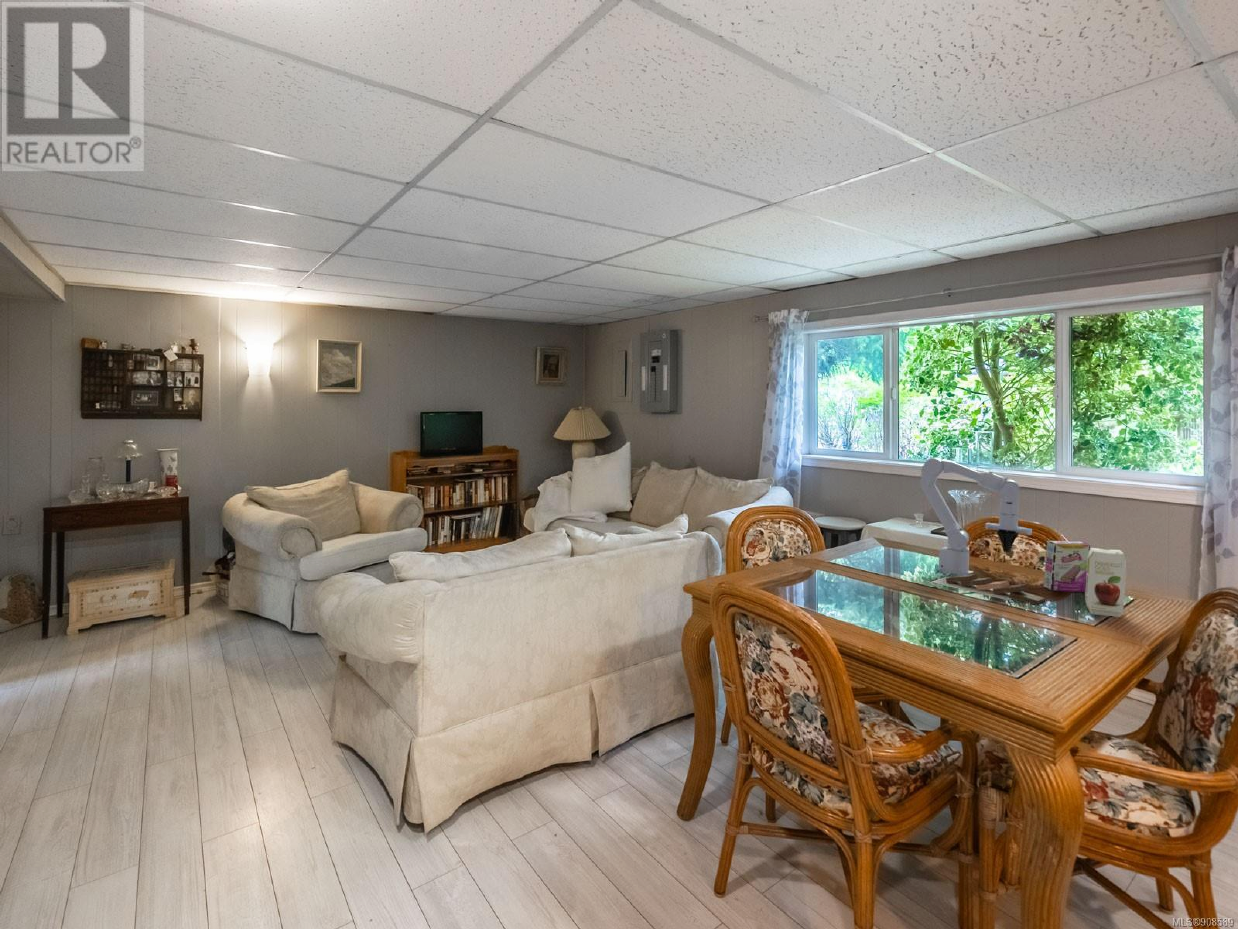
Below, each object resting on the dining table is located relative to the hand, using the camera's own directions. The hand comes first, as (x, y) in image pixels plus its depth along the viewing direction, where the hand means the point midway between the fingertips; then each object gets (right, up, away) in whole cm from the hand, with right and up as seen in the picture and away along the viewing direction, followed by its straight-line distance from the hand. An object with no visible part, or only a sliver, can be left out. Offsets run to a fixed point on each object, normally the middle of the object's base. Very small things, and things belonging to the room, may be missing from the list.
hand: (1007, 551), depth 215 cm
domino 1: (-23, -9, -4) cm, 25 cm away
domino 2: (-20, -10, -9) cm, 24 cm away
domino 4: (-14, -10, -17) cm, 25 cm away
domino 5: (-12, -11, -21) cm, 27 cm away
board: (-18, -11, -12) cm, 24 cm away
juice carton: (+5, -13, -36) cm, 39 cm away
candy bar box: (+11, -11, -14) cm, 21 cm away
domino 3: (-17, -10, -13) cm, 24 cm away
